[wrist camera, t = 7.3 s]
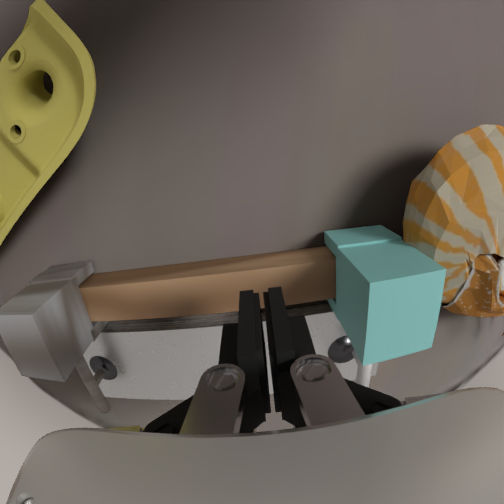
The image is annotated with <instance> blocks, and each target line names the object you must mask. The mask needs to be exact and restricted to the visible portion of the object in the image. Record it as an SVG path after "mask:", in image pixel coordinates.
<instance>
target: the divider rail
mask: <svg viewBox="0 0 504 504" xmlns="http://www.w3.org/2000/svg"><path fill="white" fill-rule="evenodd" d="M93 272H94V268H93V264H92V261H85V262H78V263H70V264H63V265H57V266H51V267H50V268H48V269H47V270H45V271H44V272H43V273H41V274H40V275H38V276H37V277H36V278H34V279H33V280H32V281H30V285H28V286H27V287H26V288H24V289H23V290H22V291H21V292H19V293H18V294H17V295H15V296H14V297H13V298H12V299H10V300H9V301H8V302H7V303H5V304H4V305H3V306H2V307H1V308H0V335H1V337H2V339H3V341H4V343H5V345H6V347H7V349H8V351H9V353H10V355H11V357H12V359H13V361H14V362H15V364H16V366H17V368H18V369H19V371H20V373H21V375H22V376H27V377H32V378H39V379H45V380H52V381H60V382H66V380H67V378H68V377H69V375H70V374H71V372H72V371H73V369H74V368H76V370H77V371H78V373H79V375H80V377H81V379H82V381H83V383H84V384H85V386H86V388H87V390H88V391H89V393H90V395H91V397H92V398H93V400H94V402H95V403H96V405H97V407H98V408H99V410H100V411H101V413H108V412H109V411H110V410H111V407H110V405H109V403H108V402H107V400H106V398H105V396H104V395H103V393H102V391H101V389H100V387H99V384H100V382H101V381H102V379H103V377H104V375H105V372H104V371H103V370H102V369H98V370H97V371H96V373H95V375H94V376H93V374H92V372H91V370H90V368H89V366H88V364H87V362H86V360H85V358H84V356H83V354H84V353H85V351H86V350H87V348H88V347H89V346H90V344H91V343H92V341H95V340H96V338H97V337H98V336H99V334H100V333H101V331H102V330H103V328H104V327H105V326H106V324H107V323H108V321H117V320H136V319H153V318H167V317H180V316H192V315H204V314H214V313H224V312H234V311H239V293H240V291H245V290H253V292H254V293H259V298H260V306H261V308H264V297H263V292H268V288H272V287H280V286H281V288H282V292H283V297H284V301H285V305H292V304H300V303H307V302H314V301H320V300H327V299H334V298H336V256H335V255H334V254H333V253H332V251H331V250H330V249H329V248H328V247H327V246H323V247H315V248H306V249H298V250H290V251H282V252H274V253H265V254H257V255H249V256H240V257H232V258H224V259H216V260H207V261H199V262H190V263H182V264H174V265H165V266H157V267H148V268H140V269H131V270H123V271H114V272H106V273H97V274H92V273H93Z"/></svg>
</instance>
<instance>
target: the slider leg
mask: <svg viewBox="0 0 504 504" xmlns="http://www.w3.org/2000/svg"><path fill="white" fill-rule="evenodd" d="M324 242H325V244H326V246H327V247H328V248H329V249H330V250H331V251H332V253H333V254H334V255H335V256H336V298H334V299H327V300H328V302H329V304H330V306H331V308H332V310H333V312H334V314H335V316H336V317H337V319H338V320H339V321H340V323H341V325H342V327H343V329H344V330H345V332H346V334H347V336H348V338H349V340H350V342H351V344H352V346H353V348H354V350H353V351H352V355H353V357H354V359H355V361H356V363H357V365H358V368H357V376H356V383H358V384H360V385H363V386H365V387H369V382H370V376H371V370H372V364H373V363H377V362H381V361H385V360H389V359H393V358H397V357H400V356H404V355H408V354H411V353H415V352H418V351H422V350H425V349H428V348H431V347H432V343H433V339H434V335H435V330H436V326H437V321H438V316H439V311H440V306H441V300H442V295H443V289H444V282H445V275H446V268H444V267H443V266H441V265H440V264H438V263H437V262H435V261H434V260H432V259H431V258H429V257H428V256H426V255H425V254H423V253H422V252H420V251H419V250H417V249H415V248H414V247H412V246H411V245H408V244H405V242H404V241H403V240H402V237H400V236H399V235H397V234H395V233H394V232H392V231H390V230H389V229H387V228H385V227H384V226H382V225H375V226H366V227H357V228H348V229H339V230H330V231H324Z"/></svg>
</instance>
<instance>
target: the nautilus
mask: <svg viewBox="0 0 504 504" xmlns="http://www.w3.org/2000/svg"><path fill="white" fill-rule="evenodd" d="M403 241H404V242H405V244H408V245H411V246H412V247H414V248H415V249H417V250H419V251H420V252H422V253H423V254H425V255H426V256H428V257H429V258H431V259H432V260H434V261H435V262H437V263H438V264H440V265H441V266H443V267H444V268H446V275H445V282H444V289H443V295H442V300H441V305H442V307H444V308H445V309H447V310H448V311H450V312H452V313H456V314H461V315H466V316H474V317H496V316H502V315H504V127H503V126H500V125H480V126H478V127H476V128H473V129H471V130H469V131H466V132H464V133H462V134H459V135H457V136H455V137H454V138H453V139H452V140H451V141H450V142H448V143H447V144H446V145H445V146H444V147H443V148H441V149H440V150H439V151H438V152H437V153H436V155H435V156H434V157H433V159H432V160H431V161H430V162H429V164H428V165H427V166H426V167H425V169H424V170H423V171H422V172H421V173H420V174H419V175H418V176H417V177H416V178H415V179H414V180H413V181H412V183H411V187H410V191H409V195H408V198H407V202H406V207H405V213H404V219H403ZM503 335H504V333H503ZM503 335H502V336H503Z"/></svg>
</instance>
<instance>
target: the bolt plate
mask: <svg viewBox="0 0 504 504" xmlns="http://www.w3.org/2000/svg"><path fill="white" fill-rule="evenodd" d="M286 311H287V315H288V317H292V316H300V315H304V316H305V318H306V322H307V325H308V328H309V332H310V335H311V338H312V342H313V345H314V349H315V352H316V354H320V355H323V356H327V357H328V358H330V359H331V360H332V361H333V362H334V363H335V365H336V366H337V368H338V370H339V371H340V373H341V375H342V376H343V378H345V379H348V380H350V381H352V380H356V376H357V368H358V365H357V363H356V361H355V359H354V357H353V355H352V351H353V350H354V348H353V346H352V344H351V342H350V340H349V338H348V336H347V334H346V332H345V330H344V329H343V327H342V325H341V323H340V321H339V320H338V319H337V317H336V316H335V314H334V312H333V310H332V308H331V306H330V304H329V303H327V304H321V305H314V306H307V307H300V308H293V309H286ZM261 314H262V323H263V331H264V339H265V347H266V358H267V370H268V382H269V394H274V393H273V385H272V376H271V367H270V359H269V349H268V339H267V328H266V318H265V312H262V313H261ZM228 323H238V315H235V316H225V317H215V318H204V319H192V320H180V321H166V322H150V323H132V324H109V325H106V326H105V327H104V328H103V330H102V331H101V333H100V334H99V336H98V337H97V338H96V340H95V341H92V343H91V344H90V346H89V347H88V348H87V350H86V351H85V353H84V354H83V356H84V358H85V360H86V362H87V364H88V366H89V368H90V370H91V372H92V374H93V376H94V375H95V373H96V371H97V370H98V369H102V370H103V371H104V372H105V375H104V377H103V379H102V381H101V382H100V384H99V387H100V389H101V391H102V393H103V395H104V396H105V397H114V398H129V399H156V400H186V399H188V398H189V397H191V396H192V395H194V393H195V391H196V388H197V386H198V383H199V380H200V378H201V376H202V374H203V373H204V372H205V371H206V370H207V369H209V368H211V367H212V366H215V365H218V362H219V354H220V345H221V337H222V328H223V324H228ZM377 366H378V362H377V363H373V364H372V370H371V376H374V375H376V372H377Z"/></svg>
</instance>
